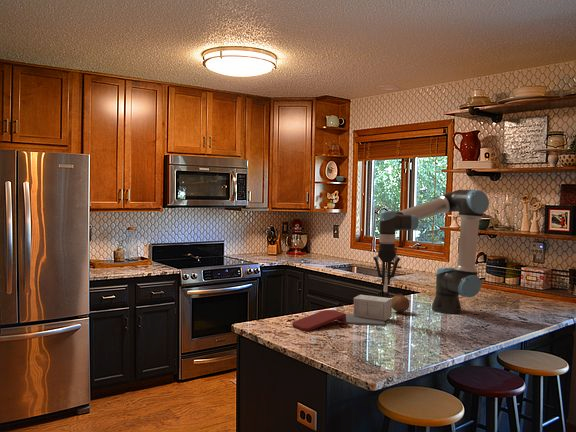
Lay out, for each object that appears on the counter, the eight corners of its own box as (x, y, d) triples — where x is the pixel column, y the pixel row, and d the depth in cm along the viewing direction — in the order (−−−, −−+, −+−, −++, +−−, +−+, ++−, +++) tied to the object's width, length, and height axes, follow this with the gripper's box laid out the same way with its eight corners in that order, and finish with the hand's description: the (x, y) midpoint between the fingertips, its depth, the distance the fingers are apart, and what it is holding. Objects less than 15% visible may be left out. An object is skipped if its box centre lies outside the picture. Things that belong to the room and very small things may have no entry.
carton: (306, 339, 229) (349, 322, 243) (305, 329, 229) (348, 312, 242) (291, 333, 239) (332, 316, 253) (289, 322, 239) (331, 307, 252)
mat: (342, 315, 261) (342, 314, 261) (381, 317, 259) (381, 315, 259) (343, 323, 245) (343, 322, 245) (385, 325, 243) (385, 323, 243)
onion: (389, 313, 267) (390, 294, 267) (391, 310, 276) (392, 291, 276) (408, 315, 265) (409, 296, 264) (409, 311, 274) (410, 292, 273)
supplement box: (392, 297, 256) (360, 293, 265) (386, 301, 248) (353, 297, 257) (391, 317, 257) (359, 312, 265) (385, 321, 249) (352, 316, 257)
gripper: (374, 243, 246) (372, 292, 248) (401, 244, 245) (400, 293, 247) (372, 241, 254) (371, 289, 255) (399, 242, 253) (398, 290, 254)
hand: (385, 291), depth 251 cm, fingers closed
